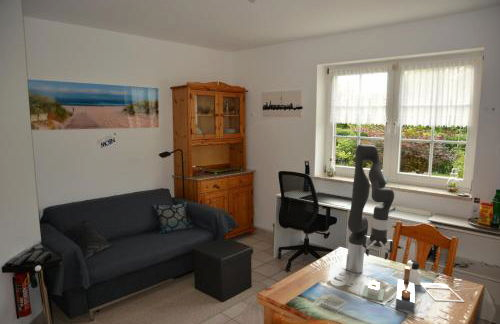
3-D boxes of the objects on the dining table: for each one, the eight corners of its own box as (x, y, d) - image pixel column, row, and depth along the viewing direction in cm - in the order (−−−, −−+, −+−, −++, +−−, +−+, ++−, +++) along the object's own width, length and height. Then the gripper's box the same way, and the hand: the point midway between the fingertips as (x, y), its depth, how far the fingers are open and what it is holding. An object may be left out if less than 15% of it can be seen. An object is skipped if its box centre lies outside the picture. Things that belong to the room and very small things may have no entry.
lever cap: (378, 297, 175) (378, 288, 174) (367, 294, 177) (368, 285, 176) (379, 290, 182) (380, 281, 181) (369, 287, 184) (370, 279, 183)
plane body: (413, 312, 164) (416, 286, 162) (395, 308, 167) (398, 282, 165) (413, 291, 183) (416, 268, 181) (397, 287, 187) (399, 265, 185)
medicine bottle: (415, 279, 197) (417, 259, 195) (420, 285, 190) (422, 265, 188) (402, 278, 198) (404, 258, 196) (407, 284, 191) (409, 264, 189)
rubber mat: (361, 296, 176) (362, 295, 176) (364, 286, 187) (364, 284, 187) (382, 301, 172) (382, 300, 172) (384, 290, 183) (384, 289, 183)
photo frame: (445, 283, 192) (464, 300, 174) (445, 285, 192) (464, 303, 174) (418, 282, 192) (435, 299, 175) (418, 284, 192) (434, 301, 175)
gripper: (363, 226, 174) (361, 257, 176) (394, 231, 168) (391, 263, 170) (365, 222, 180) (363, 251, 183) (395, 227, 175) (391, 257, 177)
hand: (376, 257), depth 177 cm, fingers open, 8 cm apart
